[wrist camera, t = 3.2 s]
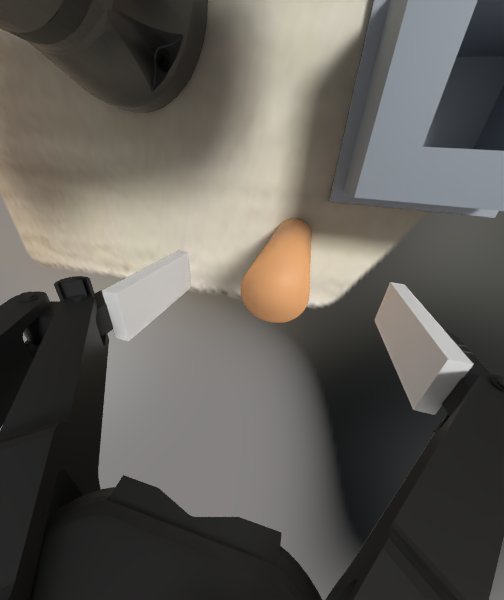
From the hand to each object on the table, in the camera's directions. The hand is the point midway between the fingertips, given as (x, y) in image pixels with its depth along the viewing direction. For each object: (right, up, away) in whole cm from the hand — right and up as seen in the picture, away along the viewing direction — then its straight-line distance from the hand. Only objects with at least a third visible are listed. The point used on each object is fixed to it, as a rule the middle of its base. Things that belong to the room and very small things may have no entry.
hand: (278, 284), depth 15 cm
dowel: (+3, +6, +10) cm, 12 cm away
